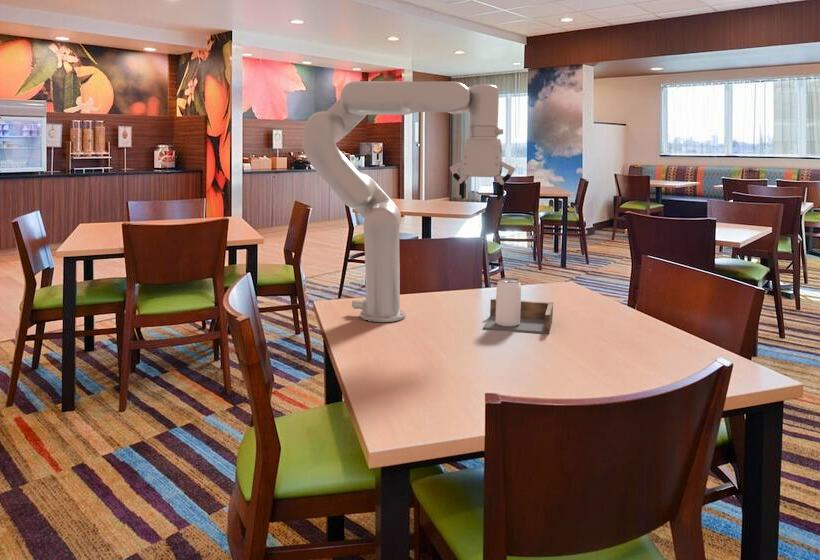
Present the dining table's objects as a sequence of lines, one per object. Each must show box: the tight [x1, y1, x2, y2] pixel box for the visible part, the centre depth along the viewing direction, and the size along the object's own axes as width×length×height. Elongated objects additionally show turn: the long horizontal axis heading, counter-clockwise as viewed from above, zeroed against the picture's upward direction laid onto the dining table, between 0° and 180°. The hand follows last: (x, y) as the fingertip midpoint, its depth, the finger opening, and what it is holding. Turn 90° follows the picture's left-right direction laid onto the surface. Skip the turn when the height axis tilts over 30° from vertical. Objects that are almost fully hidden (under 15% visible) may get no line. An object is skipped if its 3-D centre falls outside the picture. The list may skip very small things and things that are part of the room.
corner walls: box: [489, 298, 554, 335], centre depth 179 cm, size 17×14×5 cm
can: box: [495, 277, 522, 327], centre depth 177 cm, size 6×6×12 cm
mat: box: [482, 315, 551, 335], centre depth 179 cm, size 17×14×1 cm
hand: (481, 198), depth 179 cm, fingers open, 9 cm apart
